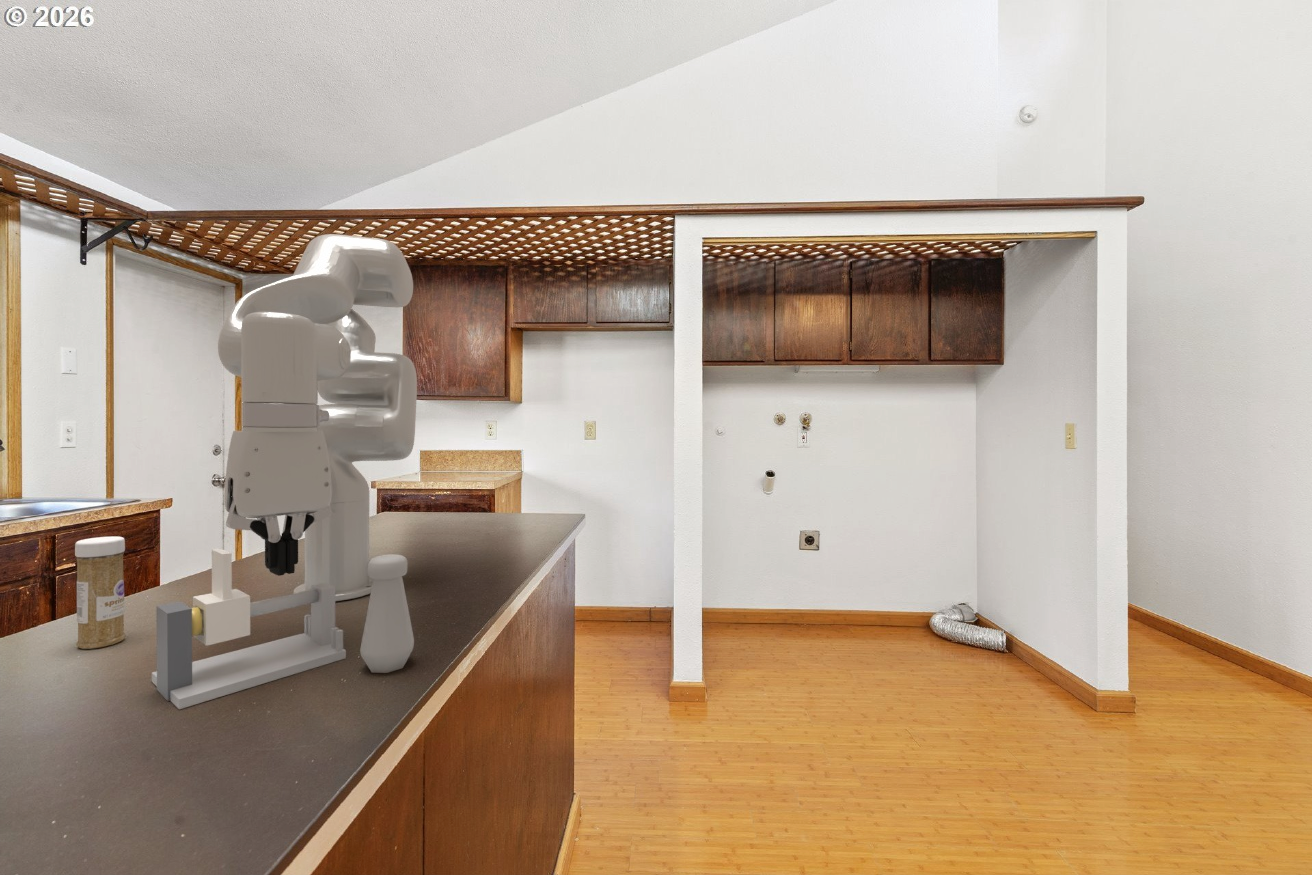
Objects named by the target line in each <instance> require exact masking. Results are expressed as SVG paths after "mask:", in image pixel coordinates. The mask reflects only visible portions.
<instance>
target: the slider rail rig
mask: <svg viewBox="0 0 1312 875" xmlns="http://www.w3.org/2000/svg"><path fill="white" fill-rule="evenodd" d="M305 605H310V614H305V615H304V616H303V618H304V619H303V623H304V624H303V625H304V626H303V631H304V632H303V633H299V634H294V635H291V636H287V637H283V638H279V639H275V640H272V641H269V642H264V643H259V644H256V645H252V646H249V647H244V648H240V649H238V650H233V651H229V652H225V653H222V654H219V655H213V656H210V657H207V658H202V659H199V660H194V661H193V637H194V636H198V635H200V634H201V631H202V628H203V627H204V612H202V613H201V612H200V610H199V608H198V607H194V608H193V607H190V606H188V605H187V604H185V603H184V602H182V601H175V602H170V603H169V602H168V603H164V604H160V605H156V608H155V609H156V611H155V612H156V671H153V672H151V682H152V683H153V685H154V686H156V690H157V692H158V693H159V694H160V695H161V696H162V697H163V698H164V699H165V700H166V701H167V702H169V701H170V702H171V703H172V704H173V705H174V706H175V707H176V708H177V709H178V710H182V709H186V708H189V707H192V706H195V705H199V704H201V703H204V702H208V701H211V700H214V699H218V698H220V697H223V696H227V695H230V694H234V693H238V692H240V691H244V690H246V689H250V688H254V687H257V686H260V685H263V684H266V683H270V682H272V681H276V680H279V679H283V678H286V677H289V676H292V675H296V674H300V673H302V672H306V671H309V670H312V669H316V668H318V667H322V666H325V665H328V664H332V663H335V662H338V661H341V660H344V659H345V660H346V658H347V649H345V648H344V630H343V629H339V627H337V626H336V601H335V587H334V586H331V585H329V584H326V583H321V584H316V585H311V590H309V591H304V592H300V593H295V594H294V593H290V594H287V595H281V596H275V597H272V598H266V599H265V598H264V599H262V600H257V601H252V602H251V601H250V618H252V617H257V616H261V615H267V614H270V613H271V614H272V613H273V612H279V611H284V610H287V609H293V608H296V607H302V606H305Z"/></svg>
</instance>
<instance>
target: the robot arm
mask: <svg viewBox="0 0 1312 875" xmlns="http://www.w3.org/2000/svg"><path fill="white" fill-rule="evenodd" d="M413 293H414V280H413V275H412V272H411V269H410V266H409V264H408V262H407V260H406V258H405V255H404V254H403V252H402V251H401V249H400V248H399V247H398V246H397V245H396V244H395V243H394V242H392V241H390V240H387V239H385V238H377V237H367V236H356V235H349V234H336V233H335V234H333V233H327V234H322V235H317V236H315V237H314V238H312V239H311V240H310V241H309V243H308V244H307V246H306V248H305V250H304V252H303V254H302V256H301V258H300V261H299V262H298V264H297V266H296V268H295V270H294V272H293V275H292V276H288V277H285V278H281V279H279V280H277V281H273V282H271V283H269V284H266V285H264V286H261V287H259V288H255V289H253V290H252V291H250V292H248V293H246V294H245V295H243V296H241V298H239V299H238V300H237V301H236V302H235V303H234V306H232V308H231V310H230V312H229V313H228V314H227V317H226V318H225V320H224V323H223V325H222V326H221V327H222V328H221V329H220V333H219V336H218V340H217V341H218V342H217V351H218V352H217V353H218V357H219V360H220V362H221V365H222V366H223V367H224V368H225V369H226V371H228V372H229V373H230V374H232V375H234V376H237V377H239V378H241V430H233V431H232V433H231V437H230V442H229V448H228V455H227V460H226V461H227V462H226V468H225V469H226V470H225V480H224V499H223V501H224V509H225V510H226V511H227V512H228V514H227V515H228V516H227V519H226V522H225V525H226V527H227V528H229V529H232V530H240V531H251V532H253V533H254V534H256V535H257V536H259V537H260V538H261V539H262V540H263V541H264V565H265V568H266V569H268V570H269V572H270V573H271V574H273V575H276V576H278V577H281V576H284V575H285V574H288V575H291V574H294V573H295V569H296V567H295V565H297V564H298V563H299V540H300V539H301V538H302V537H303V535H304V583H302V584H299V585H298V586H296V587H295V588H294V589H293V594H295V593H300V592H304V591H309V590H311V585H316V584H321V583H326V584H329V585H331V586H334V587H335V602H340V601H347V600H352V599H357V598H362V597H364V596H367V595H371V589H372V584H373V579H372V578H369V576H368V570H367V569H368V563H369V561H370V560H371V559H370V487H369V486H370V485H369V483H368V481H367V480H366V478H365V476H364V475H363V474H362V473H361V472H360V471H359V470H358V469H357V467H356V466H355V465H354V464H353V463H354V462H379V461H381V462H382V461H383V462H388V461H392V462H393V461H401V460H404V459H406V458H408V457H409V456H410V455H411V454H412V451H413V448H414V445H415V435H416V420H417V419H416V417H417V416H416V414H417V397H418V396H417V395H418V379H417V378H418V377H417V371H416V367H415V365H414V362H413V361H412V360H411V359H410V358H409V357H408V356H406V355H404V354H402V353H401V354H400V353H393V352H377V351H375V349H376V340H377V339H376V334H375V332H374V329H373V328H372V326H371V325H370V324H369V323H368V321H366V320H365V319H364V318H363V316H361V315H360V314H359V313H358V312H356V310H355V309H353V307H354V305H356V306H365V307H366V306H367V307H369V306H370V307H380V308H381V307H382V308H395V309H396V308H404V307H406V306H408V305H409V303H410V302H411V300H412V298H413ZM318 394H319V395H318ZM318 396H320V398H321V399H323V400H324V401H326V402H328V403H329V404H328V403H326V404H325V403H324V404H320V405H319V403H318V402H319V401H318ZM279 516H280V517H281V516H284V520H283V521H284V522H283V527H282V532H281V530H280V526H279V520H278V517H279Z"/></svg>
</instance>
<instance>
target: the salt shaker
mask: <svg viewBox="0 0 1312 875" xmlns="http://www.w3.org/2000/svg"><path fill="white" fill-rule="evenodd" d="M369 560H370V561H369V563H368V569H367V570H368V576H369V578H372V579H373V584H372V589H371V593H370V594H369V595H370V596H369V601H368V606H367V612H366V617H365V623H364V628H363V633H362V638H361V645H360V648H359V649H360V650H359V652H360V656H361V658H362V660H363V661H364V662H365V664H366V666H367V668H368V669H369V670H370V672H371V673H377V674H387V673H388V674H389V673H391V672H394V671H398V670H400V669H403V668H404V666H405V665H406V663H407V661H408V659H409V658H410V656H411V653H412V652H413V650H414V647H415V646H414V645H415V638H414V633H413V627H412V622H411V616H410V610H409V606H408V600H407V594H406V590H405V585H404V584H405V583H404V580H403V579H404V578H403V577H404V576H405V575H407V573H408V566H409V565H408V558H406V557H405V556H404V555H401V554H394V553H392V554H389V553H388V554H382V555H381V554H380V555H377V556H375V557H373V558H371V559H369Z"/></svg>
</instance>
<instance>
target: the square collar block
mask: <svg viewBox="0 0 1312 875" xmlns="http://www.w3.org/2000/svg"><path fill="white" fill-rule="evenodd" d="M232 556H233V555H232V552H230V551H228V550H225V549H222V548H214V549H211V593H205V594H201V595H195V596H192V608H194V607H198V608H199V610H200V612H201V613H202V612H204V627H203V628H202V631H201V634H200V635H198V636H193V637H194V638H195V640H197V641H199V642H200V643H202V644H203V645H205V646H211V645H215V644H219V643H223V642H227V641H231V640H235V639H240V638H243V637H247V636H251V617H250V603H251V595H249V594H248V593H246V592H243V591H242V590H239V589H238V588H232V586H233V585H232V582H233V580H232V579H233V578H232V577H233V576H232V575H233V574H232V572H233V571H232V570H233V569H232V567H233V566H232V565H233V563H232V562H233V561H232V560H233V559H232Z"/></svg>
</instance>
